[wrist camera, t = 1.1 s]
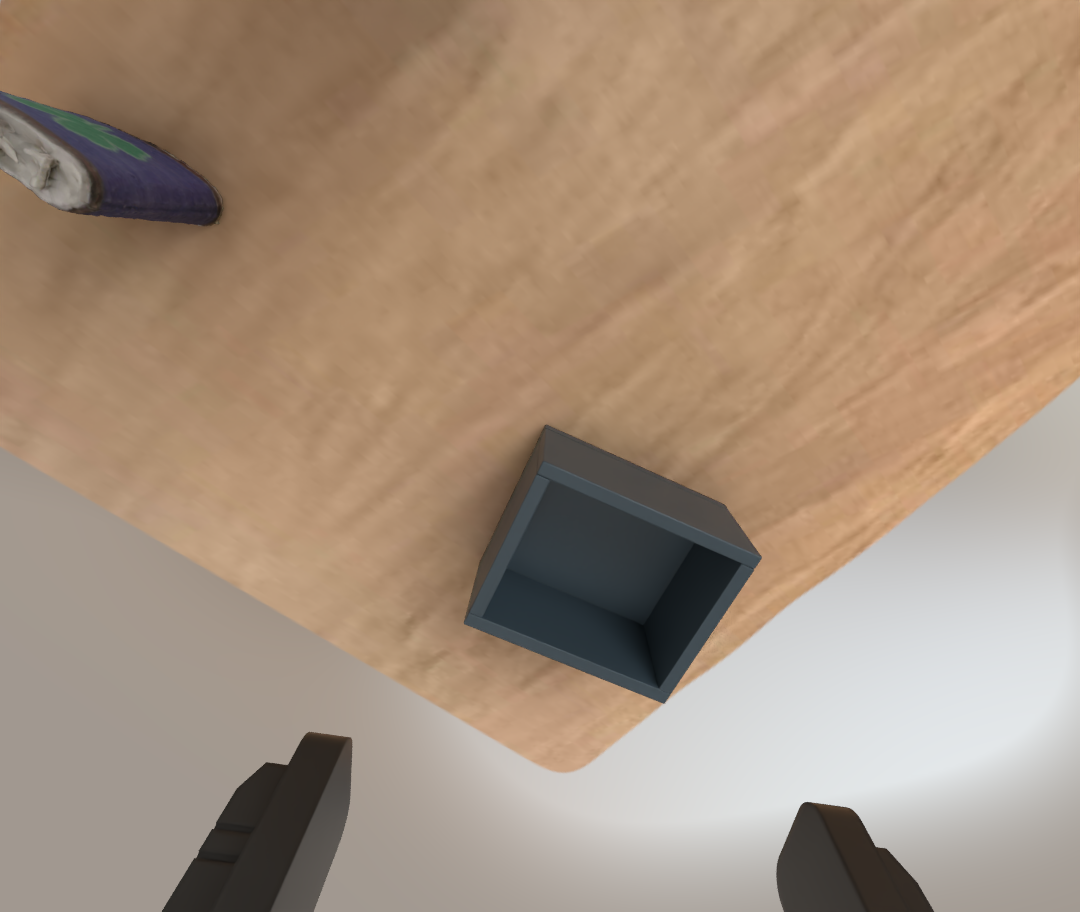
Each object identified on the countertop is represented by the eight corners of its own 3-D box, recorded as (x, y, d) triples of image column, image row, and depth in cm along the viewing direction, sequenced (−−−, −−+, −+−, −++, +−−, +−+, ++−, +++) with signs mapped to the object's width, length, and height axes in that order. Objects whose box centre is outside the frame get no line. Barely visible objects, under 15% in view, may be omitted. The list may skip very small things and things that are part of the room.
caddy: (545, 423, 34) (543, 460, 27) (725, 504, 35) (762, 557, 29) (479, 562, 37) (463, 623, 30) (646, 630, 38) (664, 704, 32)
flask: (52, 151, 30) (-211, 89, 19) (64, 95, 29) (-205, -1, 19) (217, 238, 31) (50, 221, 21) (233, 187, 30) (67, 143, 20)
